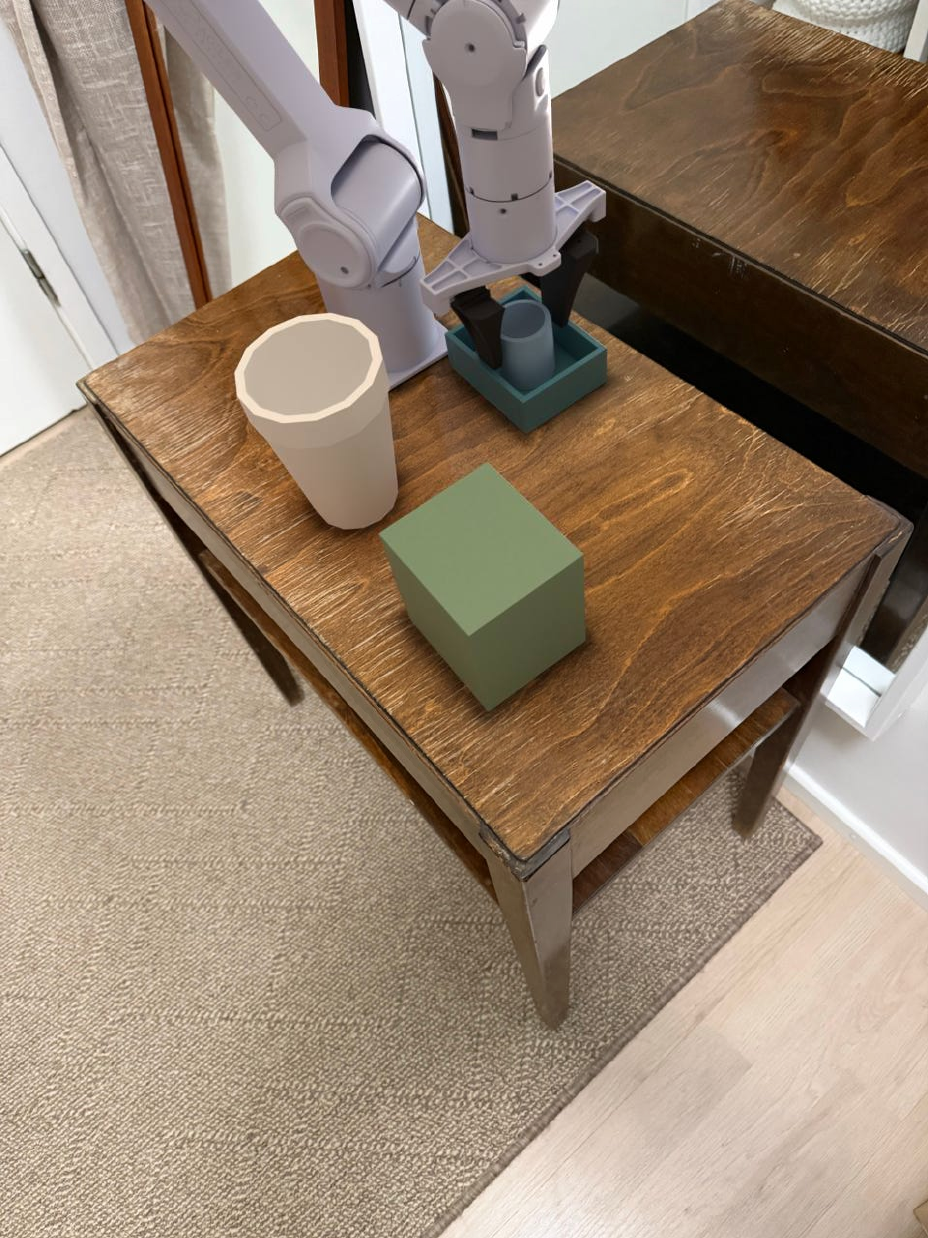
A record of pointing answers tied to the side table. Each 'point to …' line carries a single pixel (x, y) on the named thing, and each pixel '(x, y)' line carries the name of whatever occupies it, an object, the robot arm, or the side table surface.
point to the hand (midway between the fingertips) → (523, 340)
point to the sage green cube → (489, 583)
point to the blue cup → (527, 345)
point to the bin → (528, 409)
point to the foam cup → (325, 413)
